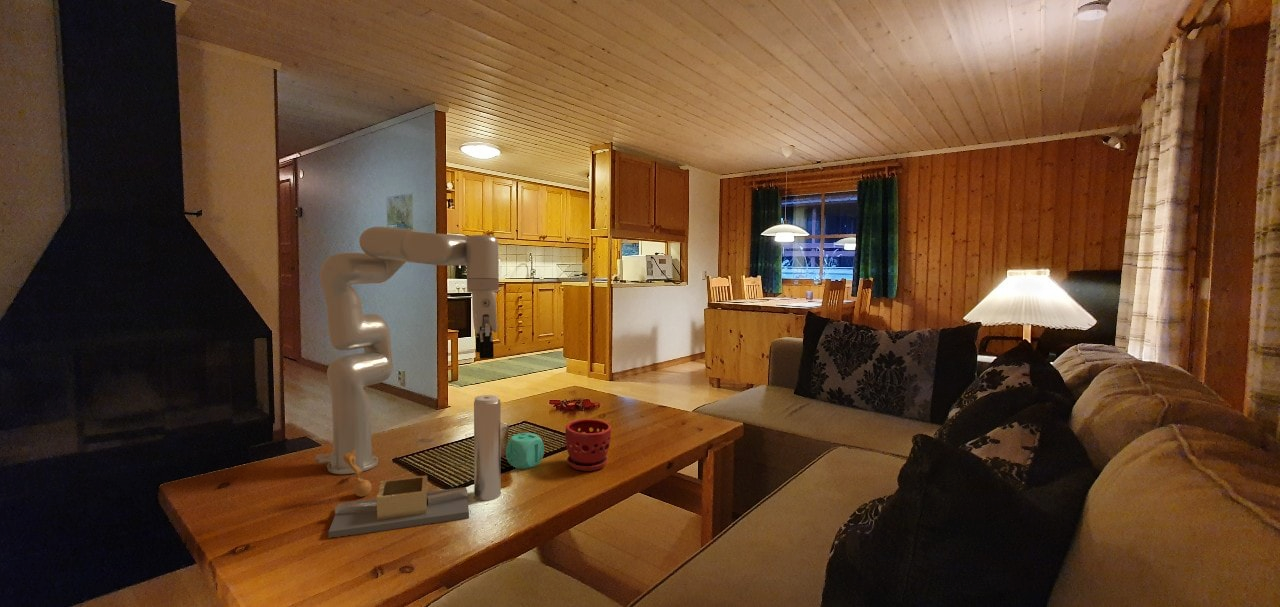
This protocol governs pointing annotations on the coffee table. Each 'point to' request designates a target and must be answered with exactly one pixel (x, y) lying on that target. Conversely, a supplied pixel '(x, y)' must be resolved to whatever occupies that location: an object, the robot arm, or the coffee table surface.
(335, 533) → the base plate
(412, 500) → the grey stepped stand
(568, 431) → the plant pot
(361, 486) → the figurine
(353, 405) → the robot arm
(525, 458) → the decorative dice
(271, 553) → the coffee table surface
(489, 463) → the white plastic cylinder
